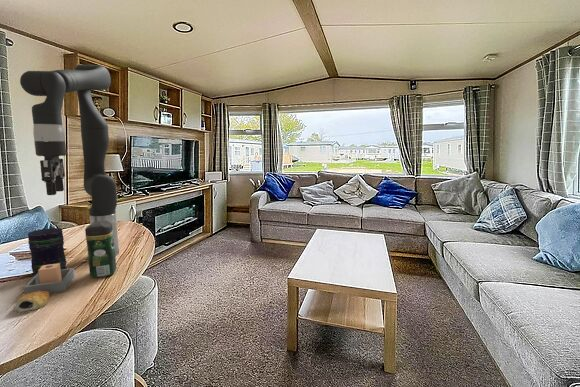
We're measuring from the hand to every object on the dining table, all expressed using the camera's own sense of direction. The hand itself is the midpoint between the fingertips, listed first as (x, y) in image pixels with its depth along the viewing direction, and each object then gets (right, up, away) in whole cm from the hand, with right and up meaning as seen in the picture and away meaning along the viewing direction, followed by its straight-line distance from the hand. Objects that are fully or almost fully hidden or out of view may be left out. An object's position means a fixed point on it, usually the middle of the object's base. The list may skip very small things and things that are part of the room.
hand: (55, 193), depth 98 cm
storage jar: (-13, -29, +15) cm, 35 cm away
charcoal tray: (-4, -30, +3) cm, 30 cm away
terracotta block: (-4, -29, +3) cm, 30 cm away
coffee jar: (+7, -29, +14) cm, 32 cm away
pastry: (0, -32, -8) cm, 33 cm away
